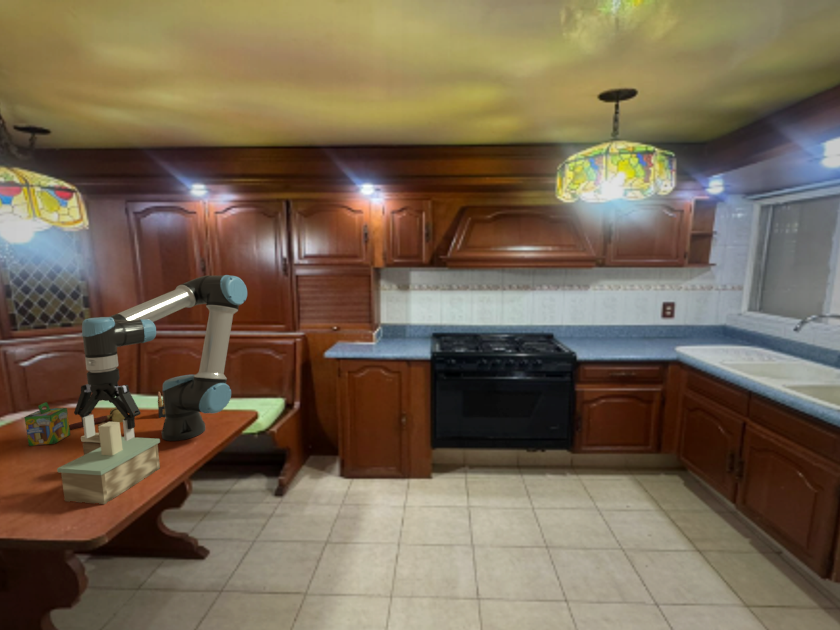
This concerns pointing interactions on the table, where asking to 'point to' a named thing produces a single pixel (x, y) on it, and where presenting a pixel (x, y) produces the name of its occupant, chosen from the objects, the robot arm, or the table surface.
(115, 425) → the lid
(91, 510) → the table surface
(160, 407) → the ammunition clip
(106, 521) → the table surface
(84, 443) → the tan open box
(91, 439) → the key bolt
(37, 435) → the chalk box
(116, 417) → the gavel
